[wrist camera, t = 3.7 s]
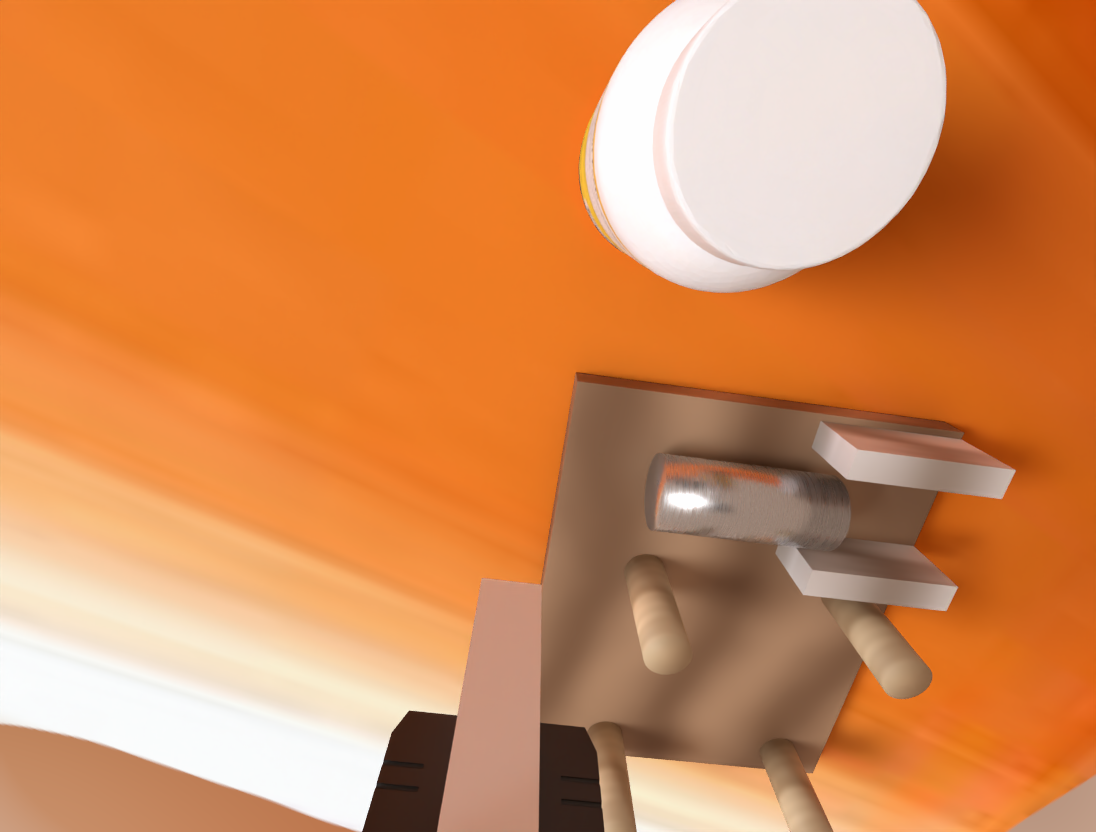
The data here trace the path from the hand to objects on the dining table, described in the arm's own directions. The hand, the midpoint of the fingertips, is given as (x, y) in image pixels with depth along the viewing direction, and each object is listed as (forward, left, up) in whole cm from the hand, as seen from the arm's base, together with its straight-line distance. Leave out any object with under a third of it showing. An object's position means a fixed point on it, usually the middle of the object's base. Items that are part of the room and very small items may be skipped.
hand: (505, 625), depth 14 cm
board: (+10, -6, -11) cm, 16 cm away
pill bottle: (+4, +12, -11) cm, 17 cm away
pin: (+9, 0, -9) cm, 13 cm away
